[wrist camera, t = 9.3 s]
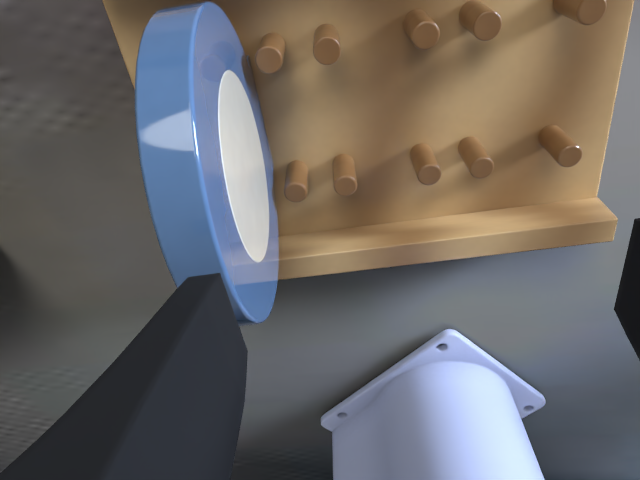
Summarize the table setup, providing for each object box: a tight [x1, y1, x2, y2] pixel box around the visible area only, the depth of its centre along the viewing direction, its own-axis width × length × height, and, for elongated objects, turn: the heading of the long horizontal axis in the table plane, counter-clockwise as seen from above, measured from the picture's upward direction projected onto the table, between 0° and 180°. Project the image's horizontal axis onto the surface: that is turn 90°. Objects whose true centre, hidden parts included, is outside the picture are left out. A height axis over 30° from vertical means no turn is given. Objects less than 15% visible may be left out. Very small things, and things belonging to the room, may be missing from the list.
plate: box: [135, 1, 279, 326], centre depth 14 cm, size 1×8×8 cm, turn 9°
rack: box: [102, 0, 634, 280], centre depth 16 cm, size 16×12×3 cm
